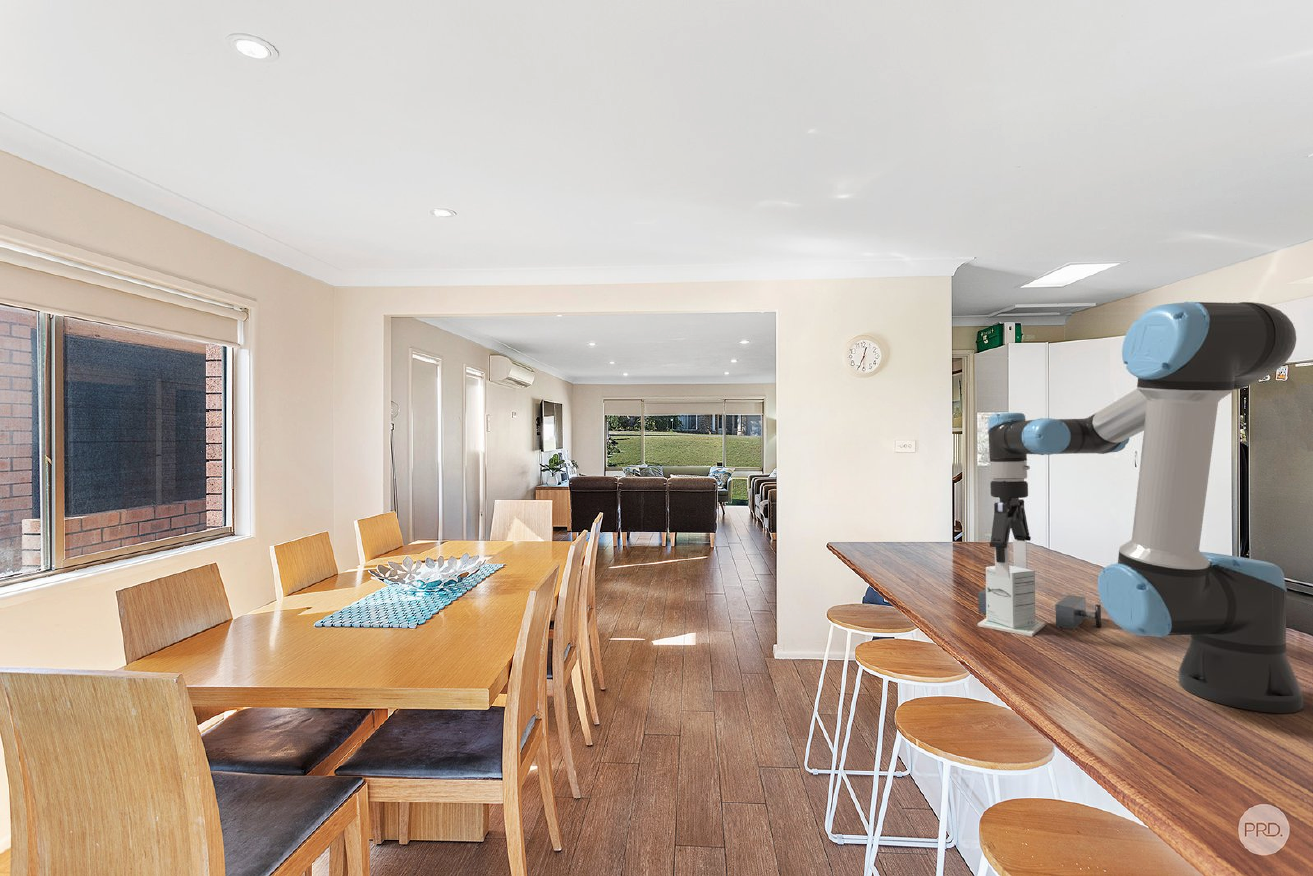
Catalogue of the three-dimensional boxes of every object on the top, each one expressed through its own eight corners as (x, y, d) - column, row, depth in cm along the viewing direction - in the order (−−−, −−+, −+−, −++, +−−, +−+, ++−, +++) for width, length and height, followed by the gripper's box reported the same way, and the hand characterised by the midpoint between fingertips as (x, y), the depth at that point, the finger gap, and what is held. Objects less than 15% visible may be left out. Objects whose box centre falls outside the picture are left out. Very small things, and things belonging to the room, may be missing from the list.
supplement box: (984, 620, 144) (984, 566, 144) (1008, 616, 146) (1007, 563, 146) (1013, 629, 137) (1012, 572, 137) (1037, 625, 139) (1036, 569, 139)
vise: (1095, 633, 135) (1095, 610, 135) (978, 612, 152) (978, 592, 152) (1106, 621, 143) (1105, 600, 143) (994, 603, 161) (993, 584, 161)
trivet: (1031, 636, 134) (1031, 633, 134) (977, 626, 142) (977, 623, 142) (1045, 625, 141) (1045, 622, 141) (993, 616, 149) (993, 613, 149)
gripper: (1010, 482, 130) (1013, 583, 130) (1042, 478, 148) (1045, 566, 147) (972, 482, 136) (975, 578, 135) (1007, 477, 153) (1010, 563, 152)
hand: (1011, 572), depth 141 cm, fingers open, 13 cm apart
